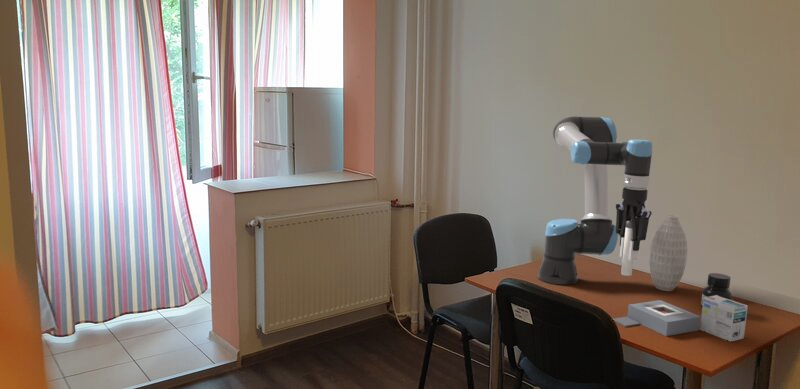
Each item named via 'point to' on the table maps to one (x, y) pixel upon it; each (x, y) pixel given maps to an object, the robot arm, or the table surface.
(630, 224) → the stylus
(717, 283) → the ink bottle
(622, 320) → the pad
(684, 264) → the vase
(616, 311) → the table surface
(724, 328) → the light bulb box
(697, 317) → the panel
